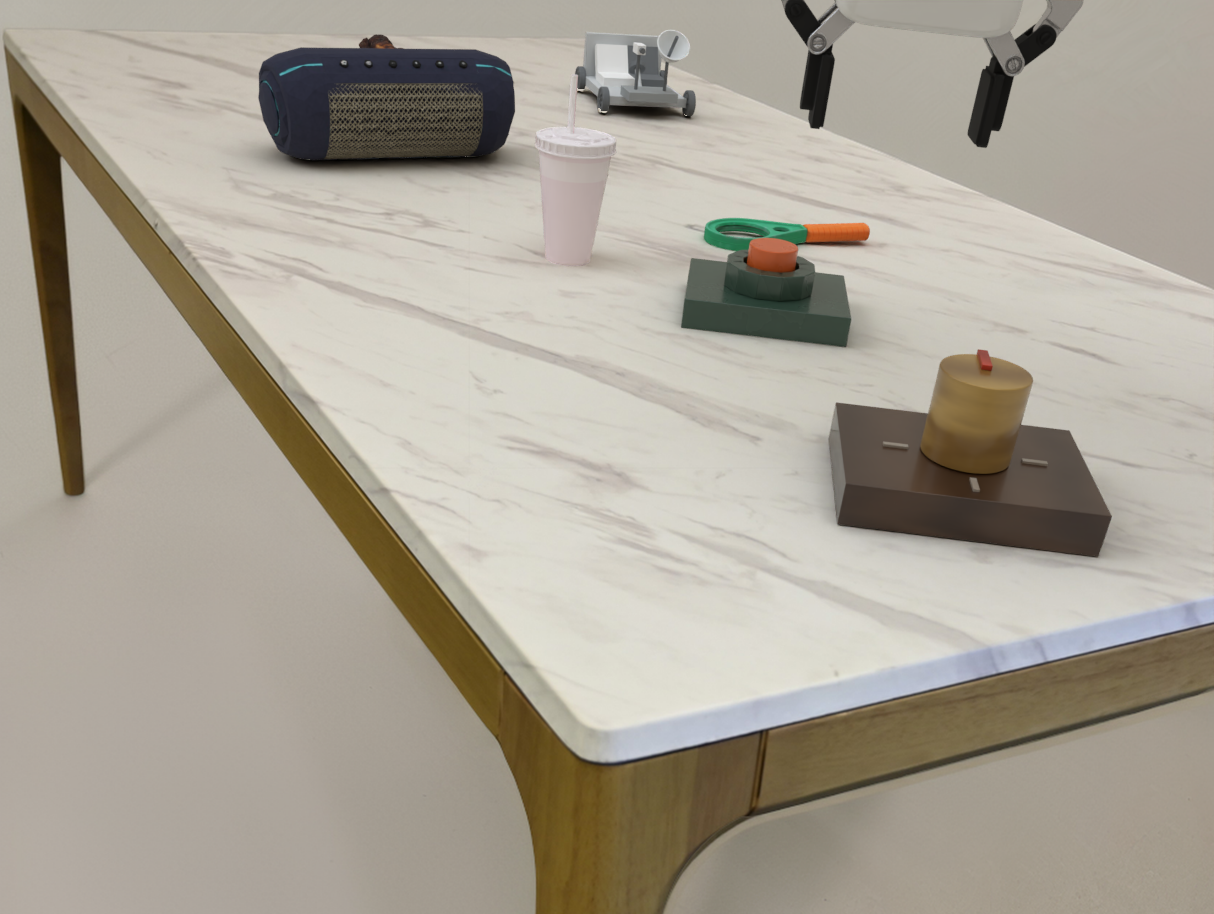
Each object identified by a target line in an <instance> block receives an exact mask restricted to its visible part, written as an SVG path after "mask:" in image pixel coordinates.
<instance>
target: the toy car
mask: <svg viewBox="0 0 1214 914" xmlns="http://www.w3.org/2000/svg"><path fill="white" fill-rule="evenodd" d="M584 35H585V36H584V47H583V48H584V49H583V61H582V65H578V66H576V68H575V71H574V74H576V75H578V84H577V88H578V89H586V88H587V89H588V90H589V91H591V92H592V94H594V95H595V96H596V97H597V98H596V105H597V109H598V108H600V109H601V111H608V112H609V110H610V106H624V107H625V106H626V107H648V108H649V107H652V108H678V109H681V110H682V114H683V113H684V114H685V115H687V116H692V117H693V116H694V114H695V112H696V105H697V97H696V92H695V91H694V90H692V89H691V90H690V89H686V90H685V91H684V92H683V95H681V94H680V93H679V92H678V91H676V90H675V89H674V88H672V87H671V86H669V85H668V75H669V65H670V64H675V63H678V62H680V61H682V60H684V59H686V58H687V56H688V55H689V54H690V52H691V44H690V41H689V38H688V37H687V36H685V34H683V33H682V32H681V31H679V30H677V29H666V30H663V31H662V32H660V33H659V35H652V34H651V35H650V34H633V33H616V32H615V33H614V32H596V31H595V32H594V31H585V33H584ZM662 60H663V61H664V62H665V64H664V69H661V68H662Z"/></svg>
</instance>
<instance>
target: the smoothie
mask: <svg viewBox="0 0 1214 914" xmlns="http://www.w3.org/2000/svg"><path fill="white" fill-rule="evenodd" d="M569 80H570V82H569V94H568V95H569V97H568V112H567V113H568V114H567V126H549V127H545V128H541V129H539V130H537V131H536V132H535V140H534V141H535V142H534V148H536V150H538V165H539V166H538V167H539V179H540V182H539V183H540V194H541V195H540V196H541V197H540V198H541V213H542V214H541V215H542V228H543V246H544V258H545V260H546V261H548V262H550V263H552V264H555V265H559V266H566V267H580V266H581V267H582V266H585V265H588V264H589V263H591V260H592V254H593V249H594V244H595V239H596V234H597V229H598V226H599V220H600V215H601V209H602V205H603V201H604V194H605V190H606V185H607V181H608V177H609V170H610V166H611V160H612V157H614V156H615V155H616V154H617V139H616V137H615V136H613V135H612V134H609V133H607V132H604V131H602V130H598V129H597V130H596V129H592V128H587V127H580V126H579V127H578V126H576V113H577V99H578V98H577V96H578V92H577V84H578V75H576V74H575V73H571V74H570V79H569Z"/></svg>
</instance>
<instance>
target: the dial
mask: <svg viewBox="0 0 1214 914" xmlns="http://www.w3.org/2000/svg"><path fill="white" fill-rule="evenodd" d="M1033 384H1034V378H1033V375H1032V374H1031V373H1030V372H1029V371H1028V370H1027V369H1026V368H1024V367H1022V366H1020V365H1018V364H1016V363H1013V362H1011V361H1009V360H1006V359H1003V358H999V357H994V356H990V353H989V351H988V350H986V349H977V351H976V353H960V354H952V355H948V356H946V357H944V358H942V359H941V360H940V362H939V365H938V368H937V374H936V378H935V383H934V385H933V391H932V395H931V399H930V403H929V407H928V411H927V413H928V415H927V419H926V423H925V428H924V432H923V436H922V440H921V444H920V447H921V450H922V452H923V453H924V455H925V456H927V457H928V458H929V459H930V460H932V461H934V462H935V463H937V464H939V465H942V466H944V467H947V468H950V469H953V470H957V471H961V472H966V473H974V474H991V473H997V472H1000V471H1003V470H1005V469H1006V468H1007V467H1008V466H1009V465H1010V462H1011V458H1012V455H1013V451H1014V448H1015V444H1016V441H1017V437H1018V434H1019V430H1020V427H1021V425H1022V422H1023V420H1024V415H1025V412H1026V408H1027V405H1028V402H1029V399H1030V396H1031V395H1030V394H1031V391H1032V388H1033Z"/></svg>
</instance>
